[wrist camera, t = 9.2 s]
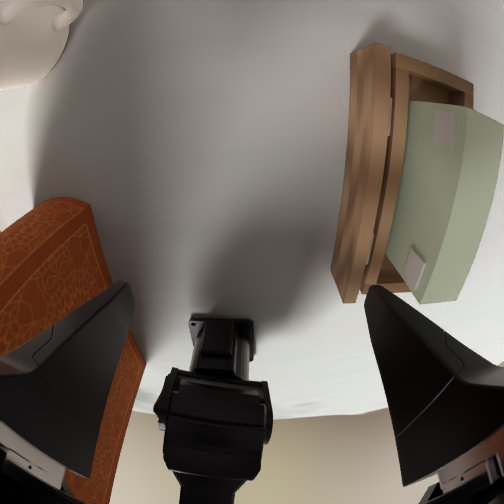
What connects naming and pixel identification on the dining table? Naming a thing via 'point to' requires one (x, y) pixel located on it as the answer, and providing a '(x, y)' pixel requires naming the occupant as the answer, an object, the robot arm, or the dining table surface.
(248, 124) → the dining table surface
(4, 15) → the mug
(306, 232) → the dining table surface
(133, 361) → the book
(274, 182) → the dining table surface
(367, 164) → the box
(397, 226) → the pale green box
